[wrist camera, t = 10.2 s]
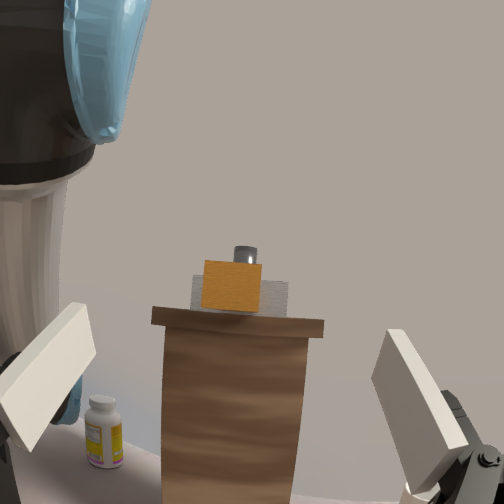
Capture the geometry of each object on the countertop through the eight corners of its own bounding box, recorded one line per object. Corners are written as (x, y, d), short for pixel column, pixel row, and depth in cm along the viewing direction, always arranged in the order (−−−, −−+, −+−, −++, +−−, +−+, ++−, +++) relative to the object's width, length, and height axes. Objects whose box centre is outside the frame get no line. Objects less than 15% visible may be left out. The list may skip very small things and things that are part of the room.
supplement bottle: (120, 454, 47) (118, 394, 50) (126, 470, 42) (124, 405, 44) (86, 452, 44) (83, 391, 47) (88, 469, 39) (84, 402, 41)
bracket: (306, 319, 16) (311, 192, 18) (154, 307, 16) (170, 183, 18) (276, 316, 36) (280, 256, 37) (206, 311, 36) (212, 251, 37)
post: (285, 578, 19) (324, 319, 25) (155, 565, 20) (152, 306, 25) (277, 517, 33) (299, 318, 39) (179, 508, 33) (186, 309, 39)
